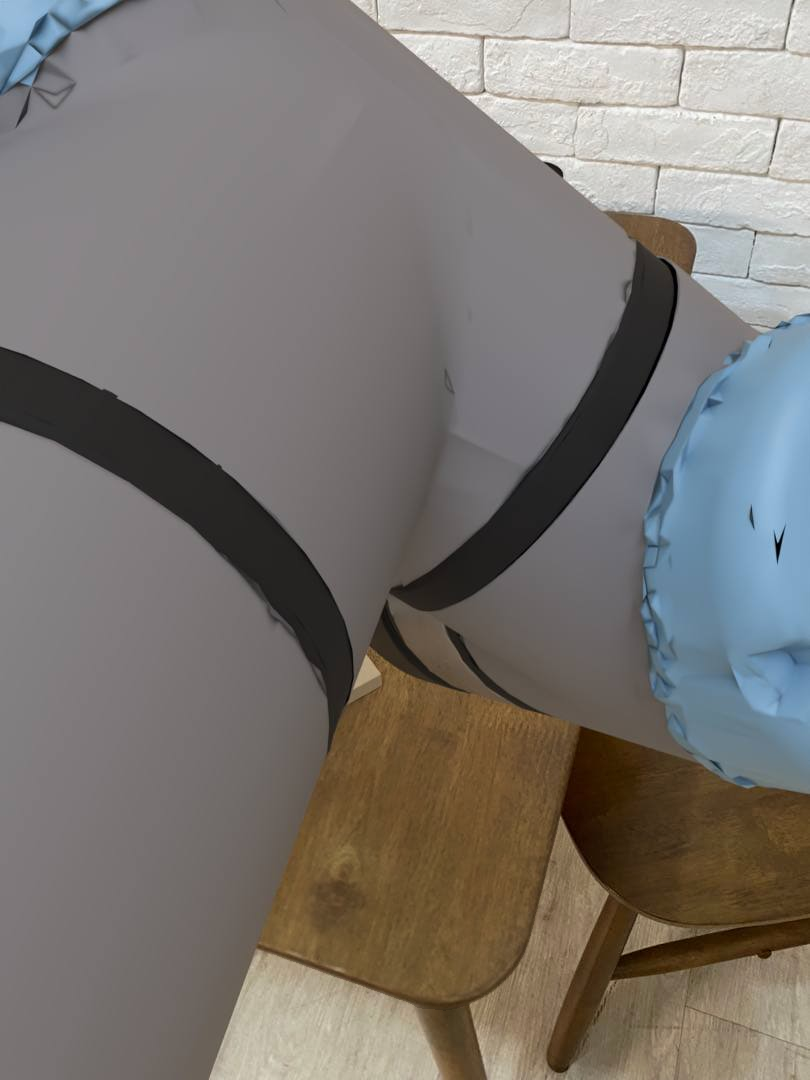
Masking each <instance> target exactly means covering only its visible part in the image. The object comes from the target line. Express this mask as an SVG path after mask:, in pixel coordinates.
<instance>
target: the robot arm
mask: <svg viewBox="0 0 810 1080" xmlns="http://www.w3.org/2000/svg"><path fill="white" fill-rule="evenodd" d="M543 161H544V160H541V158H540V157H538V156H537V155H536V154H535V153H533V152H532V151H531V150H530V149H529V148H528V147H526V146H525V145H524V144H523V143H522V142H520V141H519V140H518V139H517V138H516V137H514V135H512V134H511V133H510V132H509V131H507V130H506V129H505V128H504V127H503V126H501V125H500V124H499V123H497V121H495V120H494V119H493V118H491V117H490V116H489V114H487V113H486V112H485V111H484V110H482V109H481V108H480V107H478V106H477V104H475V103H474V102H472V101H471V100H470V99H469V98H468V97H466V96H465V95H464V94H463V93H462V92H461V91H460V90H458V89H457V88H456V87H455V86H453V84H451V83H450V82H449V81H448V80H446V78H444V77H443V76H442V75H441V74H439V73H438V72H437V71H436V70H434V69H433V68H432V67H431V66H430V65H428V64H427V63H426V62H425V61H424V60H422V58H420V57H419V56H417V55H416V53H414V52H413V51H412V50H410V48H408V47H407V46H406V45H405V44H403V42H401V41H400V40H399V39H397V38H396V37H395V36H394V35H392V34H391V32H389V31H388V30H387V29H385V28H384V27H383V26H382V25H381V24H380V23H378V22H377V21H376V20H374V19H373V18H372V17H371V16H370V15H369V14H367V13H366V12H365V11H364V10H363V9H361V7H360V6H358V5H357V4H356V3H354V2H353V1H352V0H0V1080H210V1077H211V1074H212V1071H213V1069H214V1066H215V1064H216V1061H217V1058H218V1055H219V1053H220V1050H221V1047H222V1044H223V1041H224V1038H225V1036H226V1033H227V1031H228V1028H229V1025H230V1022H231V1019H232V1017H233V1014H234V1011H235V1008H236V1006H237V1003H238V1000H239V997H240V995H241V992H242V990H243V987H244V984H245V981H246V978H247V975H248V974H249V973H248V972H249V970H250V968H251V965H252V962H253V959H254V956H255V953H256V950H257V948H258V945H259V943H260V939H261V938H262V937H261V936H262V934H263V932H264V928H265V926H266V923H267V920H268V917H269V914H270V912H271V909H272V906H273V904H274V900H275V898H276V895H277V893H278V890H279V888H280V884H281V882H282V879H283V876H284V873H285V870H286V868H287V865H288V863H289V859H290V857H291V854H292V851H293V849H294V846H295V843H296V840H297V837H298V834H299V832H300V829H301V825H302V824H303V821H304V818H305V815H306V813H307V809H308V806H309V804H310V802H311V799H312V797H313V794H314V790H315V788H316V785H317V782H318V779H319V777H320V774H321V771H322V769H323V765H324V762H325V761H326V759H327V757H328V755H329V753H330V752H331V749H332V745H333V740H334V736H335V733H336V730H337V727H338V724H339V722H340V719H342V717H343V715H344V713H345V710H346V707H347V703H348V701H349V698H350V696H351V693H352V690H353V688H354V685H355V682H356V680H357V677H358V674H359V672H360V669H361V666H362V664H363V661H364V658H365V656H366V654H367V652H368V650H369V648H370V649H372V650H373V651H374V652H375V653H376V654H377V655H379V656H380V657H381V658H382V659H384V660H385V661H386V662H388V663H389V665H392V666H393V667H395V668H396V669H398V670H399V671H401V672H402V673H404V674H407V675H408V676H411V677H413V678H415V679H418V680H421V681H423V682H427V683H430V684H432V685H433V684H434V685H437V686H439V687H444V688H447V689H450V690H453V691H456V692H460V693H466V694H471V695H476V696H479V697H482V698H485V699H488V700H492V701H495V702H499V703H503V704H505V705H509V706H512V707H516V708H519V709H521V710H526V711H529V712H532V713H536V714H541V715H543V716H547V717H551V718H553V719H558V720H561V721H565V722H567V723H570V724H573V725H577V726H580V727H583V728H586V729H589V730H592V731H595V732H599V733H601V734H605V735H608V736H611V737H614V738H617V739H621V740H624V741H627V742H630V743H633V744H637V745H640V746H641V747H642V746H643V747H646V748H649V749H653V750H655V751H659V752H661V753H665V754H668V755H671V756H675V757H677V758H681V759H684V760H687V761H690V762H692V763H693V762H694V763H695V764H699V765H702V766H703V767H705V769H707V770H708V771H710V772H711V773H713V774H714V775H716V776H717V777H719V778H720V779H722V780H723V781H726V782H728V783H731V784H733V785H736V786H739V787H742V788H744V789H752V788H754V787H757V786H758V787H763V788H768V789H779V790H785V791H791V792H795V793H801V794H807V795H810V312H807V313H802V314H796V315H794V316H793V317H792V318H791V319H789V320H787V321H784V320H781V321H780V322H779V323H778V324H777V325H776V326H775V327H774V328H773V329H771V330H767V331H765V332H762V331H759V330H758V329H756V328H755V327H753V326H751V325H750V324H748V323H747V322H746V321H745V320H743V319H742V318H741V317H739V315H738V314H736V313H735V312H734V311H732V310H731V309H730V308H729V307H728V306H727V305H726V304H724V302H722V301H720V300H719V299H718V298H717V297H715V295H713V294H712V293H711V292H710V291H708V289H706V288H705V287H704V286H703V285H701V284H700V282H698V281H697V280H696V279H695V278H693V277H692V276H691V275H690V274H688V273H687V272H686V271H685V270H683V269H682V268H681V267H680V266H678V264H676V263H675V262H674V261H673V260H671V259H670V258H667V257H666V256H663V255H655V254H654V253H653V252H652V251H651V250H649V249H648V248H647V247H646V246H644V244H642V243H641V242H639V240H638V239H637V238H635V237H633V236H629V235H628V233H627V230H625V229H624V228H623V227H622V226H620V225H619V224H618V222H615V221H614V219H612V218H611V217H610V216H609V215H607V214H606V212H604V211H603V210H602V209H600V208H599V207H598V206H597V205H596V204H594V203H593V202H592V201H591V200H590V199H588V197H586V196H585V195H584V194H582V193H581V192H580V191H579V190H577V189H576V187H574V186H572V184H570V183H569V181H567V180H566V179H565V178H564V177H563V178H562V177H561V176H560V175H558V174H557V173H556V172H555V171H554V170H552V169H551V168H550V167H549V166H548V165H546V164H545V163H544V162H543Z"/></svg>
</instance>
